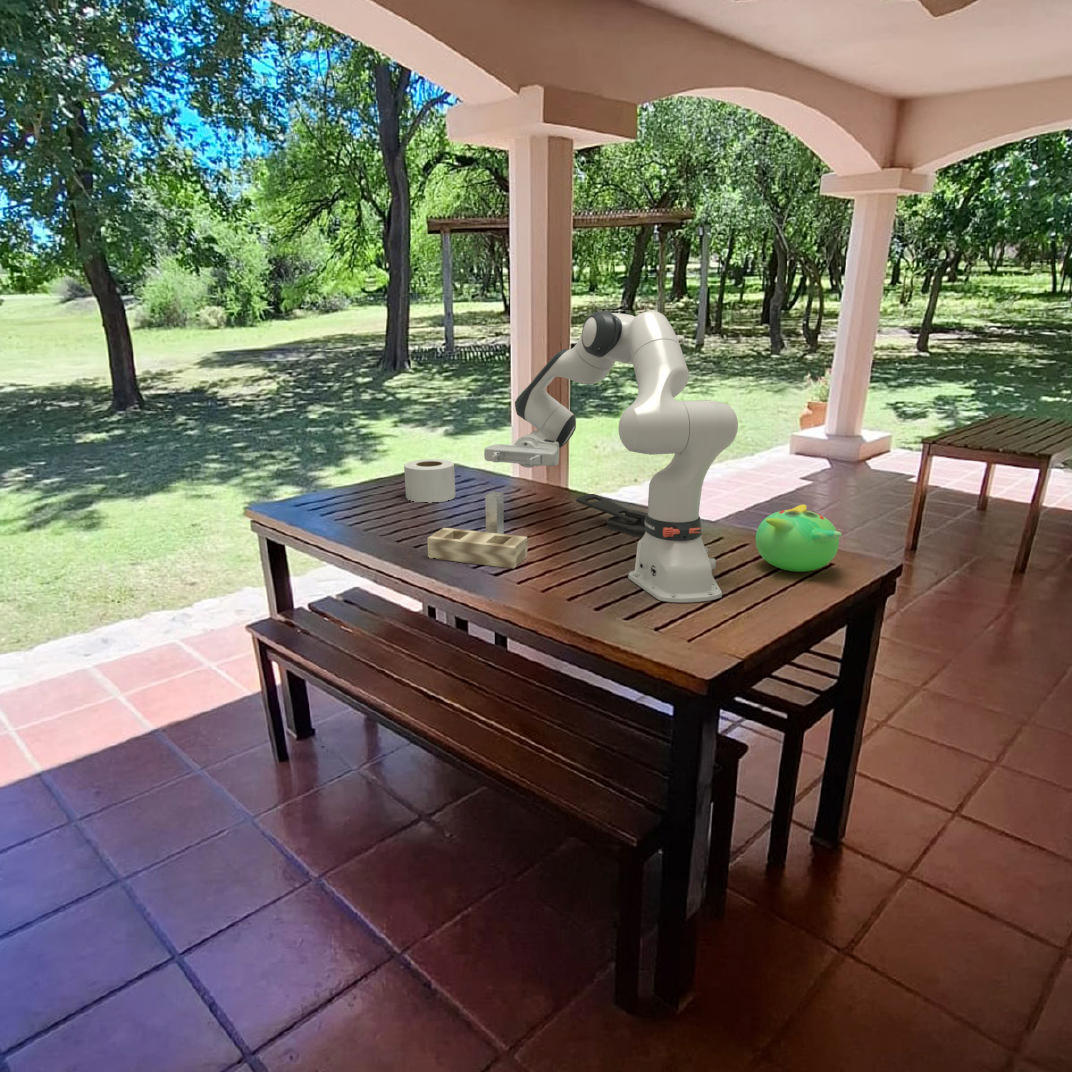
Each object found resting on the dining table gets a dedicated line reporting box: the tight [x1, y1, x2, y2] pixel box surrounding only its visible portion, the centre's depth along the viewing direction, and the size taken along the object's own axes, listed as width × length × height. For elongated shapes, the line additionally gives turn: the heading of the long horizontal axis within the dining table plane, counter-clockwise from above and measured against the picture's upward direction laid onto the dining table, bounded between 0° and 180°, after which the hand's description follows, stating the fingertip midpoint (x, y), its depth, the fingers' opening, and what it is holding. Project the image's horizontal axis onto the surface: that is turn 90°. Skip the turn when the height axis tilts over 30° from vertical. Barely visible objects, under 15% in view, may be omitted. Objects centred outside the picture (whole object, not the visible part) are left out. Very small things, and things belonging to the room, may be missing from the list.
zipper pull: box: [575, 493, 648, 538], centre depth 203 cm, size 9×7×25 cm
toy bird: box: [755, 504, 843, 573], centre depth 169 cm, size 18×17×15 cm
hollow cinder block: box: [426, 527, 528, 569], centre depth 177 cm, size 22×9×5 cm, turn 71°
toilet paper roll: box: [403, 458, 456, 504], centre depth 231 cm, size 16×15×11 cm
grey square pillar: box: [484, 491, 505, 534], centre depth 186 cm, size 3×4×13 cm, turn 161°
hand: (511, 460), depth 193 cm, fingers open, 8 cm apart
